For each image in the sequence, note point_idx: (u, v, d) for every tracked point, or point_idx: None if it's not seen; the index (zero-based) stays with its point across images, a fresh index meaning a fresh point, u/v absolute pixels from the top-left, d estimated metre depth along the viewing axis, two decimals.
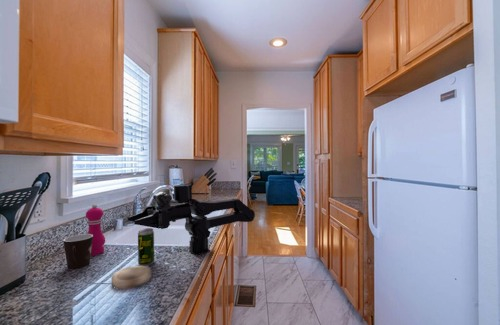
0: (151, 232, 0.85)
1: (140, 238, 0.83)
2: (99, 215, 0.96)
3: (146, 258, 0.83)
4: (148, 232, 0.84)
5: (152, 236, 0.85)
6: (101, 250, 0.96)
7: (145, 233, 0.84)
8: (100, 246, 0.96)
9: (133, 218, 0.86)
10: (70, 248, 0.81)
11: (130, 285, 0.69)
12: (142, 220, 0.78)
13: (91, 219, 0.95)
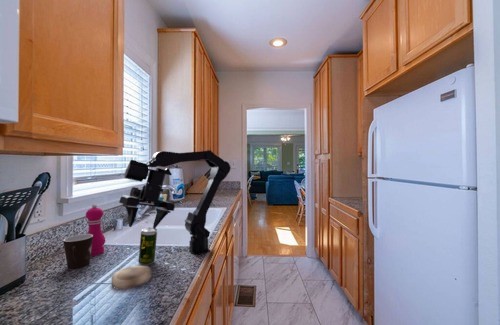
0: (154, 233, 0.84)
1: (143, 238, 0.83)
2: (99, 215, 0.96)
3: (147, 258, 0.83)
4: (151, 232, 0.83)
5: (155, 237, 0.85)
6: (101, 250, 0.96)
7: (148, 233, 0.83)
8: (100, 246, 0.96)
9: (155, 222, 0.89)
10: (70, 248, 0.81)
11: (130, 285, 0.69)
12: (129, 219, 0.81)
13: (91, 219, 0.95)
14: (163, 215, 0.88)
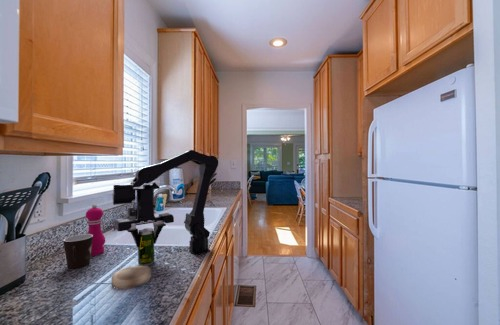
0: (151, 232, 0.85)
1: (140, 238, 0.83)
2: (99, 215, 0.96)
3: (146, 258, 0.83)
4: (148, 232, 0.84)
5: (152, 236, 0.85)
6: (101, 250, 0.96)
7: (145, 233, 0.84)
8: (100, 246, 0.96)
9: None
10: (70, 248, 0.81)
11: (130, 285, 0.69)
12: (134, 240, 0.84)
13: (91, 219, 0.95)
14: (158, 230, 0.86)
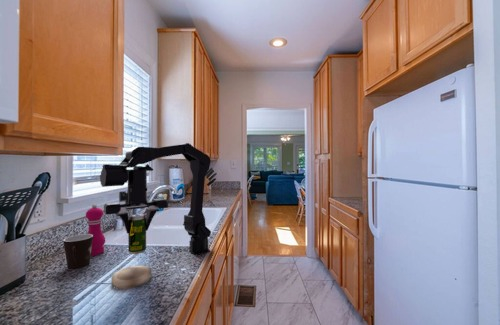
0: (143, 217, 0.78)
1: (131, 224, 0.77)
2: (99, 215, 0.96)
3: (137, 245, 0.77)
4: (140, 217, 0.78)
5: (144, 222, 0.79)
6: (101, 250, 0.96)
7: (136, 218, 0.77)
8: (100, 246, 0.96)
9: (146, 224, 0.81)
10: (70, 248, 0.81)
11: (130, 285, 0.69)
12: None
13: (91, 219, 0.95)
14: (151, 215, 0.80)
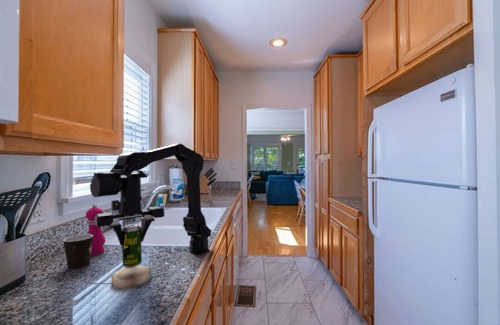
0: (138, 228, 0.73)
1: (125, 236, 0.71)
2: None
3: (132, 258, 0.71)
4: (134, 228, 0.72)
5: (139, 233, 0.73)
6: (101, 250, 0.96)
7: (130, 229, 0.72)
8: (100, 246, 0.96)
9: (141, 235, 0.75)
10: (70, 248, 0.81)
11: (130, 285, 0.69)
12: (118, 238, 0.72)
13: (91, 219, 0.95)
14: (146, 225, 0.74)
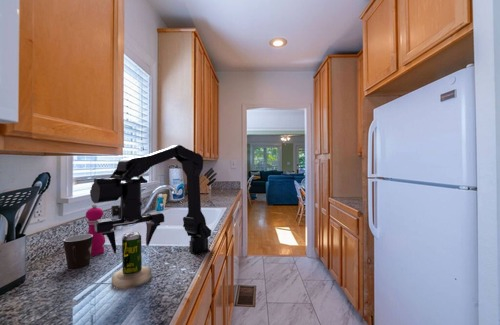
0: (138, 236, 0.73)
1: (125, 244, 0.71)
2: (99, 215, 0.96)
3: (132, 267, 0.71)
4: (134, 237, 0.72)
5: (139, 241, 0.73)
6: (101, 250, 0.96)
7: (131, 238, 0.71)
8: (100, 246, 0.96)
9: (146, 239, 0.76)
10: (70, 248, 0.81)
11: (130, 285, 0.69)
12: (111, 245, 0.71)
13: (91, 219, 0.95)
14: (152, 230, 0.75)
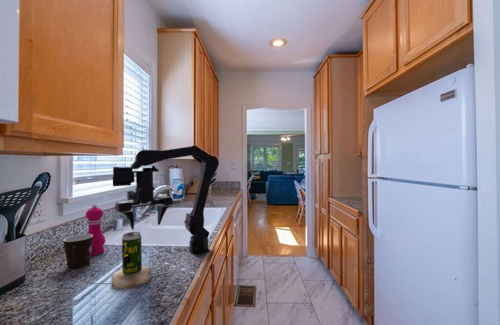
0: (138, 236, 0.73)
1: (125, 244, 0.71)
2: (99, 215, 0.96)
3: (132, 267, 0.71)
4: (134, 236, 0.72)
5: (139, 241, 0.73)
6: (101, 250, 0.96)
7: (131, 238, 0.71)
8: (100, 246, 0.96)
9: (158, 219, 0.90)
10: (70, 248, 0.81)
11: (130, 285, 0.69)
12: (129, 223, 0.84)
13: (91, 219, 0.95)
14: (163, 211, 0.89)
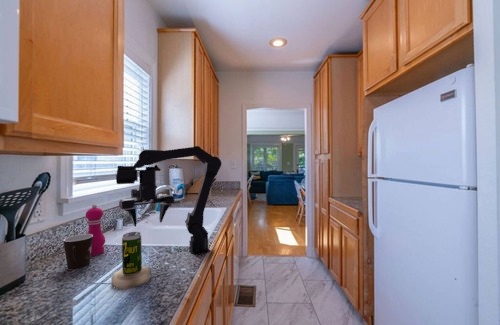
0: (138, 236, 0.73)
1: (125, 244, 0.71)
2: (99, 215, 0.96)
3: (132, 267, 0.71)
4: (134, 236, 0.72)
5: (139, 241, 0.73)
6: (101, 250, 0.96)
7: (131, 238, 0.71)
8: (100, 246, 0.96)
9: (160, 217, 0.93)
10: (70, 248, 0.81)
11: (130, 285, 0.69)
12: (132, 220, 0.87)
13: (91, 219, 0.95)
14: (164, 209, 0.92)
